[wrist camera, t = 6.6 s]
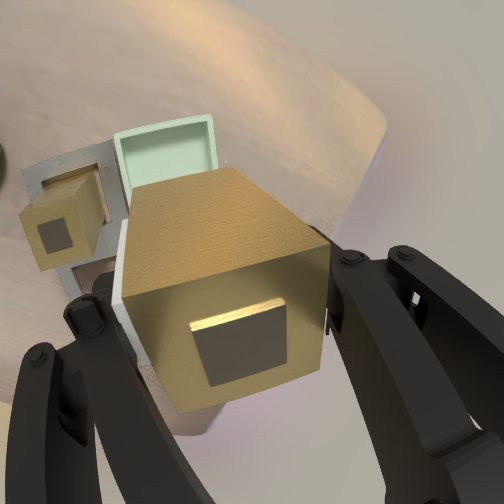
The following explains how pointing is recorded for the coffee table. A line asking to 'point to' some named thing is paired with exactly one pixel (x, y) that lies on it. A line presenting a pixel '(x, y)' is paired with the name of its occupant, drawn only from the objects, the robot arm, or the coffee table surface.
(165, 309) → the brass block
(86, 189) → the tan textured tower
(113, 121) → the coffee table surface
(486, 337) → the robot arm
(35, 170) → the grey frame plate
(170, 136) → the tray
